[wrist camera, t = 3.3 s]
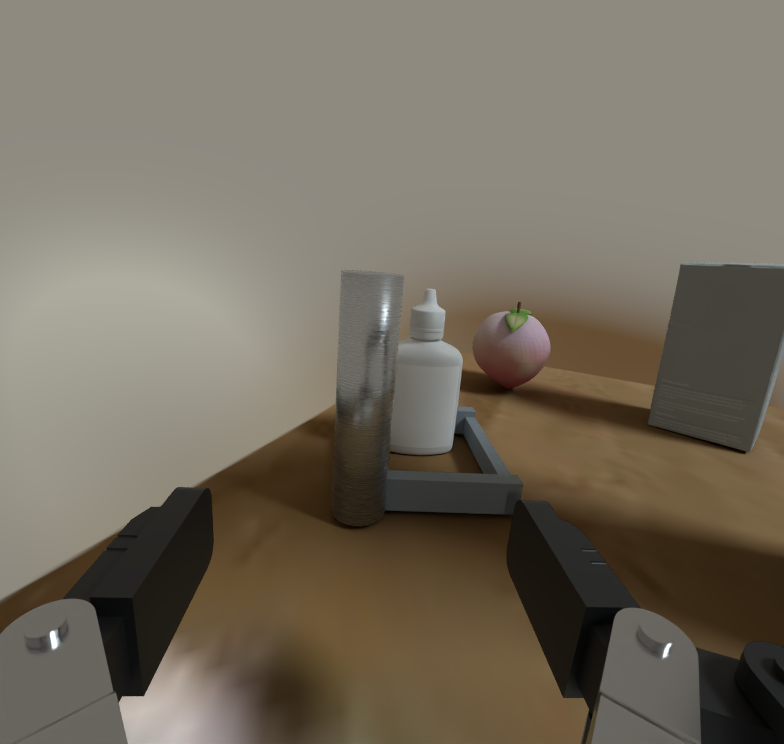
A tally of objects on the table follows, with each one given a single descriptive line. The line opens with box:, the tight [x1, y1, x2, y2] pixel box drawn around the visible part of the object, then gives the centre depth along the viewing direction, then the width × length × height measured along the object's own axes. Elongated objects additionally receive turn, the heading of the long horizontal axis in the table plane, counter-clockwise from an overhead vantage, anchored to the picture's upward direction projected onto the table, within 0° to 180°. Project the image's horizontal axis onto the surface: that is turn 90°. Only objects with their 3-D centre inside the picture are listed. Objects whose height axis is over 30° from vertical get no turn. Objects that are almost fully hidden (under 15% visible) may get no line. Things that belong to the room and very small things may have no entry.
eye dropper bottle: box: [390, 289, 463, 455], centre depth 31 cm, size 4×6×12 cm
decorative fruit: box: [473, 302, 550, 389], centre depth 48 cm, size 9×8×10 cm
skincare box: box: [648, 262, 784, 452], centre depth 38 cm, size 8×7×16 cm
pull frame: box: [331, 270, 523, 526], centre depth 27 cm, size 11×14×13 cm
